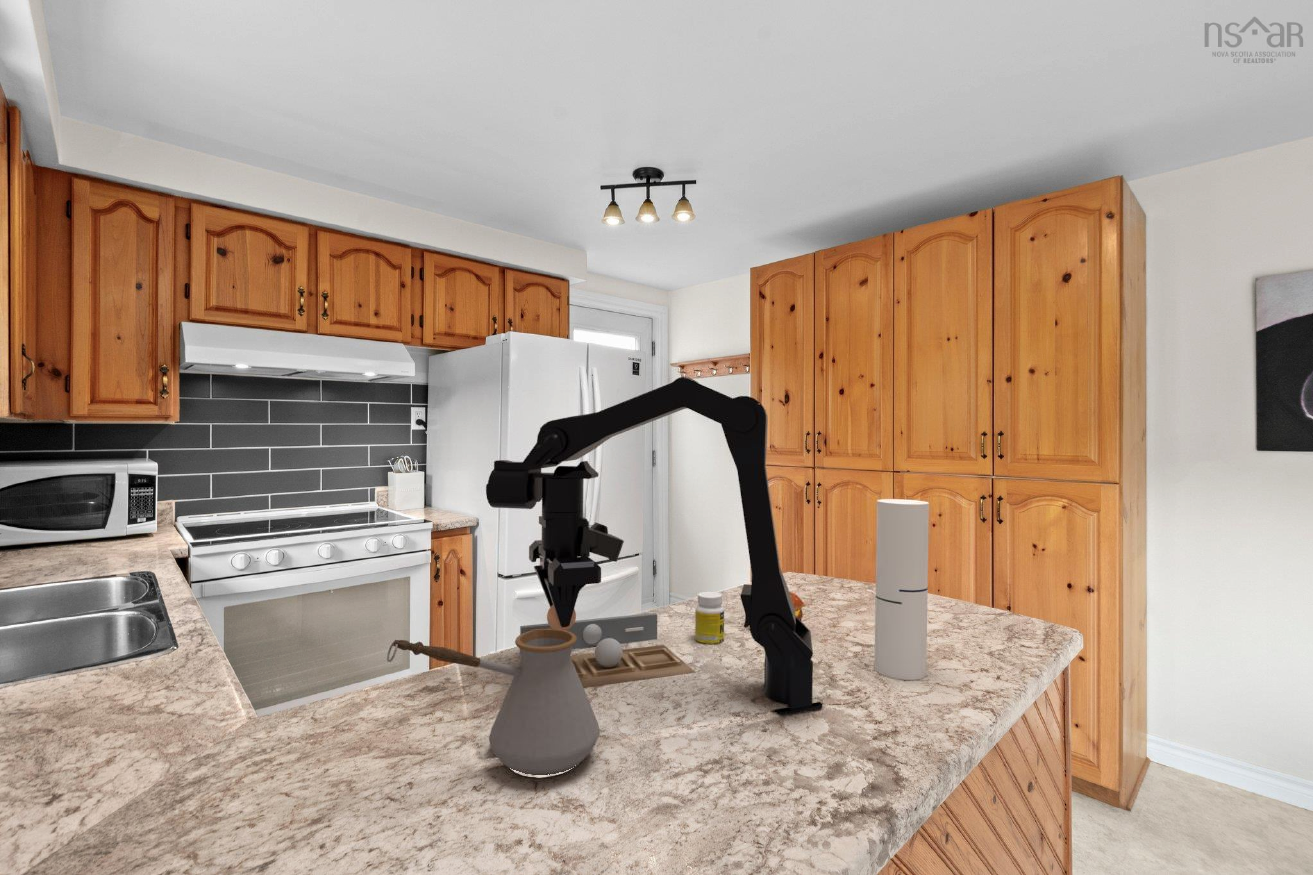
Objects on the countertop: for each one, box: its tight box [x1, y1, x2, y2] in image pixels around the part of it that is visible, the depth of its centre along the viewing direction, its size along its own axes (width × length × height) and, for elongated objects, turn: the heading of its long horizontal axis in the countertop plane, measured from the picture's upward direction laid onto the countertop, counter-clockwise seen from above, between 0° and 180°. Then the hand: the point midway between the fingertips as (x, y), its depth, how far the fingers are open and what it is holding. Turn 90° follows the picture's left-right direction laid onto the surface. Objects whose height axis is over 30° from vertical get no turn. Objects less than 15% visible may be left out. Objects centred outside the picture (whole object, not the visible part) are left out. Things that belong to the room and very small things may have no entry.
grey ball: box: [594, 638, 623, 668], centre depth 90 cm, size 4×4×4 cm
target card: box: [519, 612, 658, 655], centre depth 99 cm, size 1×22×5 cm, turn 112°
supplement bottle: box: [694, 591, 725, 646], centre depth 102 cm, size 5×5×8 cm
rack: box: [570, 644, 697, 689], centre depth 90 cm, size 12×22×2 cm, turn 111°
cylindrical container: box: [874, 498, 930, 681], centre depth 93 cm, size 7×7×25 cm
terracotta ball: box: [546, 605, 577, 631], centre depth 87 cm, size 4×4×4 cm
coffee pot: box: [386, 629, 600, 775], centre depth 64 cm, size 21×12×15 cm, turn 120°
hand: (561, 622), depth 87 cm, fingers closed on terracotta ball, 4 cm apart
